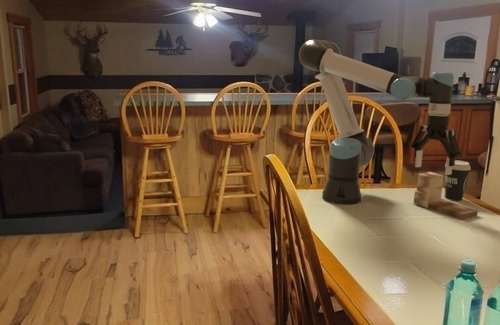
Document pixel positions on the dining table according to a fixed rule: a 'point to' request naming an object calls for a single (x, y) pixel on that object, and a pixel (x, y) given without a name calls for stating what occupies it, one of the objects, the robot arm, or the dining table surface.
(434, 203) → the plank
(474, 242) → the dining table surface
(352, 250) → the dining table surface
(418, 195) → the tan block with peg
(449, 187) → the coffee cup
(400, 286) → the dining table surface
